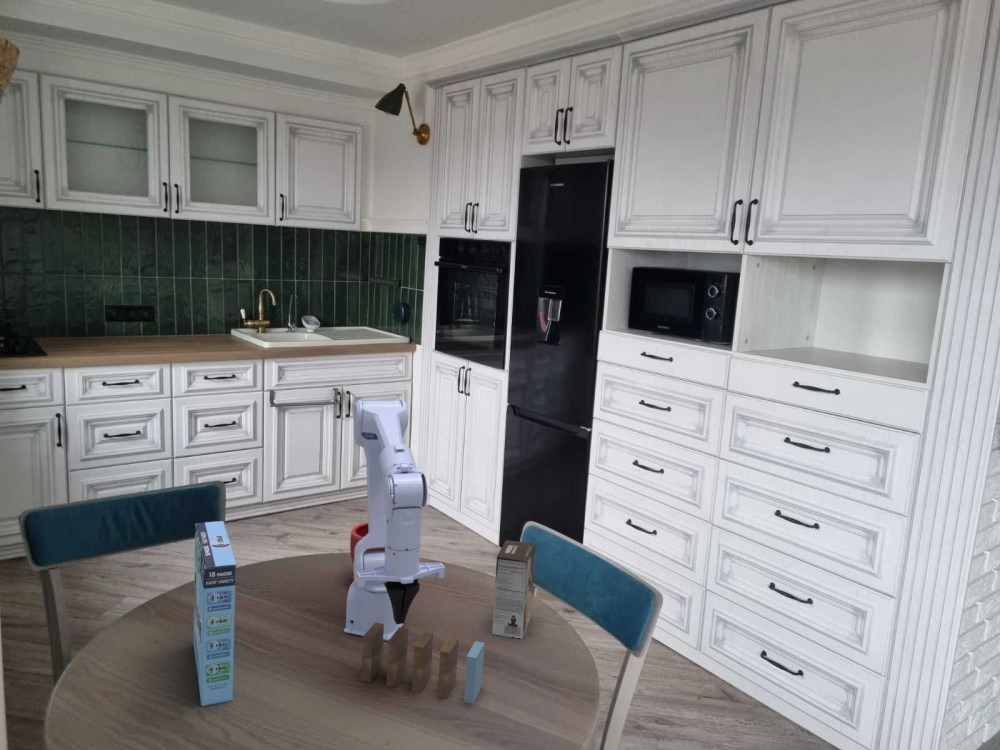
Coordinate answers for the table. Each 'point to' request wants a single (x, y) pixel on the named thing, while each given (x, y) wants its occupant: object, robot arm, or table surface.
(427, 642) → the walnut domino
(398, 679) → the walnut domino
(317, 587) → the table surface
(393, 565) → the robot arm
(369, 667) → the walnut domino
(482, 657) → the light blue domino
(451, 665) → the walnut domino
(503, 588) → the coffee box
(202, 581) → the light blue carton box
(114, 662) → the table surface
